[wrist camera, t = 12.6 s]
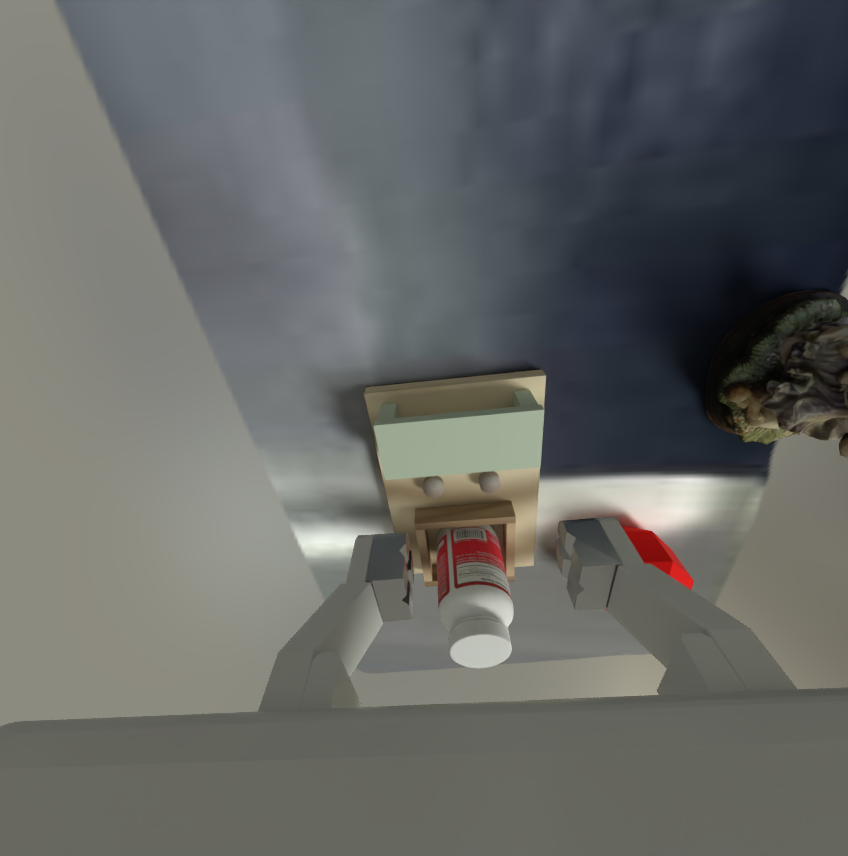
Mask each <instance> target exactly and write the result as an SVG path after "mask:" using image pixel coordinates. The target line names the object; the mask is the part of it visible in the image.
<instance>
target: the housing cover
mask: <svg viewBox="0 0 848 856" xmlns="http://www.w3.org/2000/svg"><path fill="white" fill-rule="evenodd" d="M543 421H544V408H543V407H542V405H541V404H539V405H538V403H537V401H536V400H535V398H534V396H533V395H532V393H531V391H530V390H521V391H514V407H508V408H497V409H487V410H476V411H466V412H455V413H445V414H434V415H424V416H413V417H403V418H399V416H398V410H397V405H396V403H388V404H381V407H380V411H379V415H378V419H377V420H375V421H374V425H373V427H374V431H375V436H376V441H377V445H378V450H379V454H380V459H381V464H382V468H383V473H384V477H385V480H393V479H405V478H417V477H429V476H441V475H453V474H465V473H477V472H489V471H501V470H513V469H525V468H537V467H540V466H541V451H542V436H543Z"/></svg>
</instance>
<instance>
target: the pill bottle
mask: <svg viewBox="0 0 848 856" xmlns="http://www.w3.org/2000/svg"><path fill="white" fill-rule="evenodd" d="M436 549H437V579H438V607H439V617H440V620H441V622H442V624H443V626H444V627H445V628H446V629H447V630H448V631H449V650H450V655H451V657H452V659H453V660H454V661H455V662H457V663H458V664H460V665H463V666H466V667H471V668H485V667H490V666H494V665H497V664H499V663H501V662H503V661H505V660H506V659H507V658H508V657H509V656H510V654H511V651H512V646H511V641H510V636H509V630H508V626H509V625H510V623H511V621H512V618H513V613H514V609H513V603H512V598H511V594H510V589H509V585H508V580H507V575H506V571H505V567H504V562H503V558H502V553H501V549H500V544H499V540H498V536H497V533H496V532H495V530H494V529H493V527H492V526H491V525H481V526H467V527H454V528H442V530H441V531H440V532H439V534H438V537H437V545H436Z"/></svg>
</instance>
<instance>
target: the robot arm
mask: <svg viewBox="0 0 848 856" xmlns="http://www.w3.org/2000/svg"><path fill="white" fill-rule="evenodd" d="M558 533H559V535H560V538H559V539H558V540H557V541H556V556H557V561H558V565H559V568H560V571H561V574H562V575H563V576H565V577H566V578H567V579H568V581H567V590H568V593H569V596H570V598H571V601H572V603H573V606H574V609H575V610H587V609H607V611H608V612H609V613H610V614H611V615H612V616H613V617H614V618H615V619H616V620H617V621H618V622H619V623H620V624H621V625H622V626H623V627H624V628H625V629H626V630H627V631H628V632H629V633H631V634H632V635H633V636H634V637H635V638H636V639H637V640H638V641H639V642H640V643H641V644H642V645H643V646H644V647H645V648H646V649H647V650H648V651H649V652H650V653H651V654H652V655H653V656H654V657H655V658H656V659H658V660H659V661H660V662H661V663H662V664H663V665H664V666H665V667H666V668H667V670H666V672H665V674H664V676H663V678H662V680H661V683H660V685H659V687H658V689H657V692H658V694H659V695H649V696H625V697H601V698H577V699H576V698H575V699H553V700H526V701H503V702H479V703H455V704H431V705H408V706H407V705H406V706H382V707H360V706H361V703H360V700H359V698H358V696H357V693H356V691H355V689H354V687H353V684H352V682H351V680H350V676H351V674H352V673H353V671H354V670H355V668H356V667H357V665H358V663H359V662H360V660H361V659H362V657H363V655H364V654H365V652H366V651H367V649H368V647H369V646H370V644H371V642H372V641H373V639H374V638H375V636H376V634H377V633H378V631H379V630H380V628H381V626H382V625H383V622H386V621H398V620H409V619H412V611H413V594H412V589H411V586H412V585H413V584H414V564H413V556H412V551H411V550H409V545H410V540H409V536H408V533H393V534H375V535H358V537H357V538H356V540H355V545H354V549H353V554H352V558H351V563H350V567H349V572H348V576H347V581H346V583H343V584H340V585H339V586H338V588H337V589H336V590H335V591H334V592H333V593H332V594H331V595H330V596H329V597H328V599H327V600H326V601H325V602H324V603H323V604H322V605H321V606H320V607H319V608H318V610H317V611H316V612H315V613H314V614H313V615H312V616H311V617H310V618H309V620H308V621H307V622H306V623H305V624H304V625H303V626H302V627H301V628H300V630H298V632H297V633H296V634H295V635H294V636H293V637H292V638H291V639H290V641H288V643H287V644H286V645H285V646H284V647H283V648H282V649H281V650H280V651H279V652H278V655H277V658H276V661H275V664H274V666H273V669H272V672H271V675H270V678H269V681H268V684H267V687H266V690H265V693H264V696H263V699H262V701H261V705H260V707H259V710H258V712H238V713H214V714H191V715H167V716H142V717H118V718H93V719H68V720H42V721H20V722H14V723H9V724H6V725H3V726H1V727H0V856H848V687H843V688H818V689H797V688H796V687H795V685H794V684H793V683H792V681H791V680H790V679H789V678H788V676H787V675H786V674H785V672H784V671H783V670H782V668H781V667H780V666H779V665H778V663H777V662H776V661H775V659H774V658H773V657H772V656H771V654H770V653H769V652H768V650H767V649H766V648H765V647H764V645H763V644H762V643H761V641H760V640H759V639H758V637H757V636H756V635H755V633H754V632H753V631H752V630H751V629H750V628H749V627H747V626H746V625H744V624H743V623H741V622H740V621H738V620H737V619H735V618H733V617H732V616H730V615H729V614H727V613H726V612H724V611H723V610H721V609H720V608H718V607H717V606H715V605H714V604H712V603H710V602H709V601H707V600H706V599H704V598H703V597H701V596H700V595H698V594H697V593H695V592H694V591H692V590H690V589H689V588H687V587H686V586H684V585H683V584H681V583H680V582H678V581H677V580H675V579H674V578H672V577H670V576H669V575H667V574H666V573H664V572H663V571H661V570H660V569H658V568H657V567H655V566H654V565H652V564H645V563H644V562H643V560H642V558H641V557H640V555H639V554H638V552H637V550H636V549H635V547H634V546H633V544H632V542H631V541H630V539H629V538H628V536H627V534H626V533H625V531H624V530H623V528H622V526H621V525H620V523H619V522H618V520H617V519H616V518H615V517H604V518H595V519H594V518H590V519H578V520H567V521H560V522H559V524H558Z"/></svg>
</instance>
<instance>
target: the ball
mask: <svg viewBox="0 0 848 856" xmlns="http://www.w3.org/2000/svg"><path fill="white" fill-rule="evenodd" d="M622 528H623V530H624V531H625V533H626V534H627V536H628V538H629V539H630V541H631V542H632V544H633V546H634V547H635V549H636V550H637V552H638V554H639V555H640V557H641V558H642V560H643V562H644V563H645V564H652V565H654V566H655V567H657V568H658V569H660V570H661V571H663V572H664V573H666V574H667V575H669V576H670V577H672V578H674V579H675V580H677V581H678V582H680V583H681V584H683V585H684V586H686V587H687V588H689V589H690V590H691V589H692V585H693V582H694V580H693V579H692V578H691V576H690V575H689V573H688V572H687V571H686V569H685V568H684V567H683V565H682V564H681V562H680V561H679V560H678V558H677V557H676V555H675V554H674V553H673V551H672V550H671V549H670V548H669V547H668V546H667V545H666V544H665V543H664V542H663V541H662V540H661V539H660V538H659V537H658V536H657V535H655V534H654V533H653V532H652V531H648V530H643V529H637V528H631V527H625V526H622ZM605 610H607V609H605Z"/></svg>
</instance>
